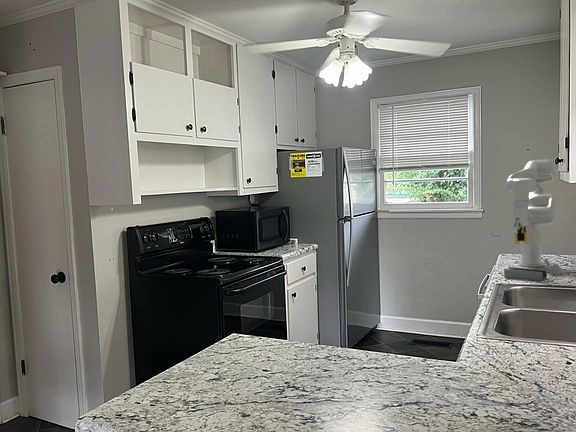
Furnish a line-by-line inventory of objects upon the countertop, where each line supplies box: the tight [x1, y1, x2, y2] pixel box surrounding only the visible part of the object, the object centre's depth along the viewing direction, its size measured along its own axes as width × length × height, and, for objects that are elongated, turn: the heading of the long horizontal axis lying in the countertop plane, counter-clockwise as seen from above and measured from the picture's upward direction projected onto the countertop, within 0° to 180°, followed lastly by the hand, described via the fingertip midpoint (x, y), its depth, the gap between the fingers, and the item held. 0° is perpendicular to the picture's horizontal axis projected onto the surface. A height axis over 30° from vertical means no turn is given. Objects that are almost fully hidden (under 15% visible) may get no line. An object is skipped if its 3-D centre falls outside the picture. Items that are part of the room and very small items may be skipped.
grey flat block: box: [503, 266, 548, 282], centre depth 232 cm, size 7×17×4 cm, turn 45°
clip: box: [514, 230, 529, 245], centre depth 243 cm, size 2×6×6 cm, turn 45°
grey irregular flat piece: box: [543, 257, 561, 276], centre depth 236 cm, size 7×2×8 cm, turn 55°
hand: (521, 240), depth 243 cm, fingers closed on clip, 2 cm apart
